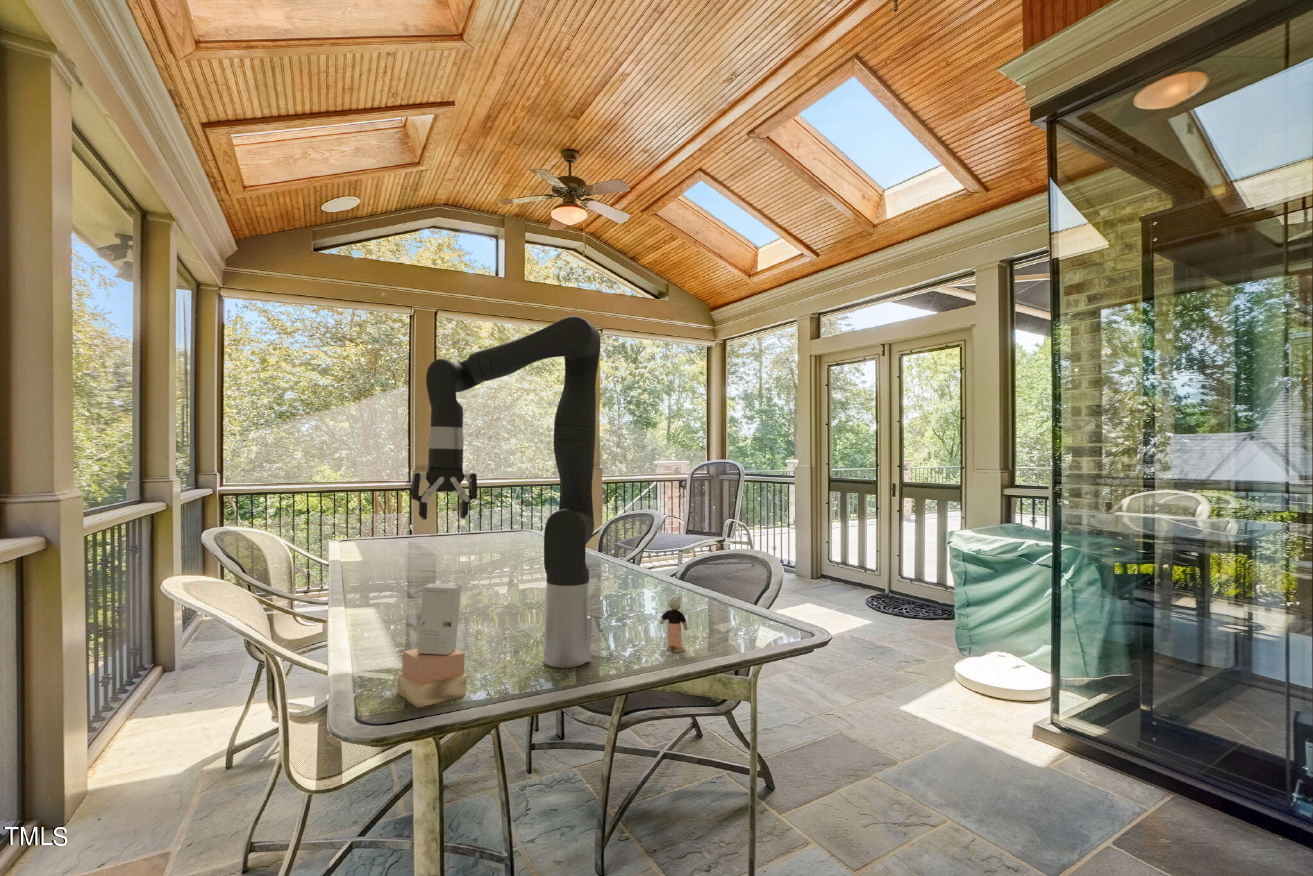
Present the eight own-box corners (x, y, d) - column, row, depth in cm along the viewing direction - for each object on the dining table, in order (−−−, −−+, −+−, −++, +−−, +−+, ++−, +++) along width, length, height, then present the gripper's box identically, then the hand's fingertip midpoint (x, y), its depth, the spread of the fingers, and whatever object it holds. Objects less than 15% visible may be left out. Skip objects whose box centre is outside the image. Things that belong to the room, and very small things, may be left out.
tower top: (443, 663, 119) (444, 643, 119) (463, 674, 113) (464, 652, 113) (402, 673, 113) (403, 651, 113) (421, 685, 107) (422, 662, 107)
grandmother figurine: (691, 649, 144) (693, 595, 144) (685, 654, 140) (687, 598, 141) (662, 644, 147) (663, 591, 147) (655, 648, 143) (656, 594, 144)
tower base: (444, 683, 119) (445, 663, 119) (465, 697, 112) (466, 675, 113) (397, 695, 113) (398, 673, 113) (417, 710, 106) (418, 687, 106)
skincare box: (416, 654, 111) (420, 586, 112) (425, 647, 115) (429, 582, 116) (450, 655, 111) (454, 588, 112) (457, 648, 115) (461, 584, 116)
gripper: (416, 446, 132) (414, 521, 132) (482, 448, 140) (479, 519, 139) (409, 446, 139) (407, 518, 138) (472, 448, 146) (470, 516, 146)
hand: (443, 518), depth 139 cm, fingers open, 8 cm apart
